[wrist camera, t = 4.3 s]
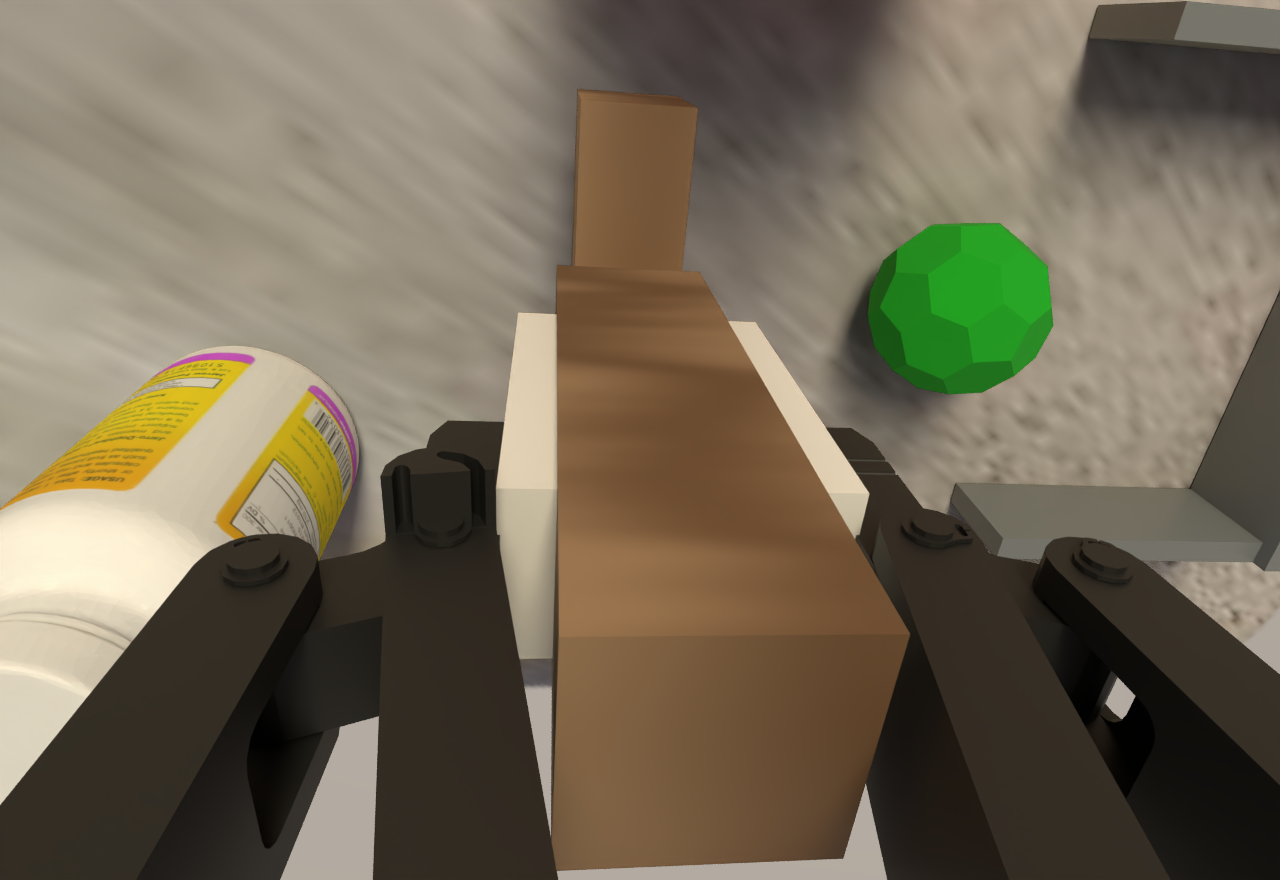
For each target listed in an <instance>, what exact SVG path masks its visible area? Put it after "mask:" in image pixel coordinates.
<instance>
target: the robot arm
mask: <svg viewBox="0 0 1280 880" xmlns="http://www.w3.org/2000/svg"><path fill="white" fill-rule="evenodd" d="M728 322H729V324H730V325H731V327H732V329H733V331H734V332H735V334H736V336H737V337H738V339H739V341H740V343H741V344H742V346H743V348H744V349H745V351H746V353H747V355H748V356H749V358H750V360H751V361H752V363H753V365H754V367H755V368H756V370H757V372H758V373H759V375H760V377H761V379H762V380H763V382H764V384H765V386H766V387H767V389H768V391H769V392H770V394H771V396H772V398H773V399H774V401H775V403H776V404H777V406H778V408H779V410H780V411H781V413H782V415H783V416H784V418H785V420H786V422H787V423H788V425H789V427H790V428H791V430H792V432H793V434H794V435H795V437H796V439H797V440H798V442H799V444H800V446H801V447H802V449H803V451H804V453H805V454H806V456H807V458H808V459H809V461H810V463H811V465H812V466H813V468H814V470H815V471H816V473H817V475H818V477H819V478H820V480H821V482H822V483H823V485H824V487H825V489H826V490H827V492H828V494H829V495H830V497H831V499H832V501H833V502H834V504H835V506H836V507H837V509H838V511H839V513H840V514H841V516H842V518H843V520H844V521H845V523H846V525H847V526H848V528H849V530H850V532H851V533H852V535H853V537H854V538H855V540H856V542H857V544H858V545H859V547H860V549H861V550H862V552H863V554H864V556H865V557H866V559H867V561H868V562H869V564H870V566H871V568H872V569H873V571H874V573H875V574H876V576H877V578H878V580H879V581H880V583H881V585H882V587H883V588H884V590H885V592H886V593H887V595H888V597H889V599H890V600H891V602H892V604H893V605H894V607H895V609H896V611H897V612H898V614H899V616H900V617H901V619H902V621H903V623H904V624H905V626H906V628H907V629H908V631H909V633H910V637H909V640H908V643H907V647H906V650H905V653H904V657H903V660H902V663H901V667H900V670H899V673H898V677H897V680H896V683H895V687H894V690H893V693H892V697H891V700H890V704H889V707H888V710H887V714H886V717H885V720H884V724H883V727H882V730H881V734H880V737H879V740H878V744H877V747H876V750H875V754H874V757H873V760H872V764H871V767H870V770H869V774H868V777H867V780H866V786H867V790H868V794H869V799H870V804H871V808H872V813H873V817H874V822H875V826H876V830H877V835H878V839H879V844H880V848H881V853H882V857H883V862H884V866H885V871H886V875H887V880H1280V674H1279V673H1277V672H1276V671H1275V670H1273V669H1272V668H1271V667H1270V666H1269V665H1268V664H1266V663H1265V662H1264V661H1263V660H1262V659H1260V658H1259V657H1258V656H1257V655H1255V654H1254V653H1253V652H1252V651H1251V650H1249V649H1248V648H1247V647H1246V646H1245V645H1243V644H1242V643H1241V642H1240V641H1239V640H1237V639H1236V638H1235V637H1234V636H1233V635H1231V634H1230V633H1229V632H1228V631H1226V630H1225V629H1224V628H1223V627H1222V626H1220V625H1219V624H1218V623H1217V622H1216V621H1214V620H1213V619H1212V618H1211V617H1210V616H1208V615H1207V614H1206V613H1205V612H1203V611H1202V610H1201V609H1200V608H1199V607H1197V606H1196V605H1195V604H1194V603H1193V602H1191V601H1190V600H1189V599H1188V598H1187V597H1185V596H1184V595H1183V594H1182V593H1180V592H1179V591H1178V590H1177V589H1176V588H1174V587H1173V586H1172V585H1171V584H1170V583H1168V582H1167V581H1166V580H1165V579H1164V578H1162V577H1161V576H1160V575H1159V574H1158V573H1156V572H1155V571H1154V570H1153V569H1151V568H1150V567H1149V566H1148V565H1147V564H1145V563H1144V562H1142V561H1141V560H1139V559H1138V558H1136V557H1135V556H1133V555H1132V554H1130V553H1129V552H1126V551H1124V550H1122V549H1120V548H1117V547H1115V546H1114V545H1113V544H1111V543H1108V542H1105V541H1102V540H1100V541H1097V539H1093V538H1087V537H1085V538H1082V537H1063V538H1058V539H1053V540H1052V541H1051V542H1050V543H1049V544H1048V545H1047V546H1046V548H1045V550H1044V553H1043V556H1042V558H1041V561H1040V563H1039V564H1036V563H1031V562H1026V561H1021V560H1016V559H1011V558H1006V557H1001V556H996V555H992V554H989V553H988V552H987V550H986V548H985V546H984V545H983V543H982V541H981V539H980V538H979V537H978V536H977V534H976V533H975V532H974V531H973V530H972V529H971V528H970V527H969V526H967V525H965V524H964V523H962V522H961V521H959V520H957V519H956V518H954V517H951V516H948V515H946V514H943V513H941V512H938V511H934V510H929V509H923V508H922V506H921V505H920V504H919V502H918V501H917V500H916V499H915V497H914V496H913V495H912V493H911V492H910V491H909V489H908V488H907V487H906V485H905V484H904V483H903V481H902V480H901V479H900V477H899V476H898V475H895V471H894V469H893V468H892V467H891V465H890V464H889V463H888V462H885V458H884V456H883V455H882V454H881V452H880V451H879V450H878V448H877V447H876V446H875V444H874V443H873V442H872V441H870V440H868V439H867V438H865V437H864V436H862V435H861V434H859V433H858V432H856V431H855V430H853V429H851V428H825V426H824V425H823V423H822V422H821V420H820V419H819V417H818V416H817V414H816V413H815V411H814V410H813V408H812V407H811V405H810V404H809V402H808V401H807V399H806V398H805V396H804V395H803V393H802V392H801V390H800V389H799V387H798V386H797V384H796V383H795V381H794V380H793V378H792V377H791V375H790V374H789V372H788V371H787V369H786V368H785V366H784V365H783V363H782V362H781V360H780V359H779V357H778V356H777V354H776V353H775V351H774V350H773V348H772V347H771V345H770V344H769V342H768V341H767V339H766V338H765V336H764V335H763V333H762V332H761V330H760V329H759V327H758V326H757V324H756V323H755V322H735V321H728ZM380 477H381V488H382V500H383V511H384V522H385V533H386V541H385V542H383V543H381V544H380V545H378V546H375V547H373V548H371V549H368V550H366V551H363V552H359V553H355V554H351V555H348V556H343V557H337V558H332V559H327V560H321V561H318V556H317V554H316V552H315V550H314V548H313V546H312V545H311V544H310V543H308V542H306V541H304V540H302V539H301V538H299V537H296V536H290V535H284V534H279V533H275V534H256V535H250V536H247V537H241V538H238V539H235V540H231V541H229V542H227V543H225V544H223V545H221V546H218V547H216V548H214V549H212V550H210V551H209V552H208V553H206V554H205V555H204V556H203V557H202V558H201V559H200V560H198V561H197V562H196V563H195V564H194V565H193V566H192V568H191V569H190V570H189V571H188V573H187V574H186V575H185V576H184V578H183V579H182V580H181V581H180V582H179V584H178V585H177V586H176V587H175V589H174V590H173V591H172V592H171V594H170V595H169V596H168V597H167V599H166V600H165V601H164V602H163V604H162V605H161V606H160V607H159V609H158V610H157V611H156V612H155V613H154V615H153V616H152V617H151V618H150V620H149V621H148V622H147V623H146V625H145V626H144V627H143V628H142V630H141V631H140V632H139V633H138V635H137V636H136V637H135V638H134V640H133V641H132V642H131V643H130V645H129V646H128V647H127V648H126V649H125V651H124V652H123V653H122V654H121V656H120V657H119V658H118V659H117V661H116V662H115V663H114V664H113V666H112V667H111V668H110V669H109V671H108V672H107V673H106V674H105V676H104V677H103V678H102V679H101V681H100V682H99V683H98V684H97V685H96V687H95V688H94V689H93V690H92V692H91V693H90V694H89V695H88V697H87V698H86V699H85V700H84V702H83V703H82V704H81V705H80V707H79V708H78V709H77V710H76V712H75V713H74V714H73V715H72V716H71V718H70V719H69V720H68V721H67V723H66V724H65V725H64V726H63V728H62V729H61V730H60V731H59V733H58V734H57V735H56V736H55V738H54V739H53V740H52V741H51V743H50V744H49V745H48V746H47V748H46V749H45V750H44V751H43V752H42V754H41V755H40V756H39V757H38V759H37V760H36V761H35V762H34V764H33V765H32V766H31V767H30V769H29V770H28V771H27V772H26V774H25V775H24V776H23V777H22V779H21V780H20V781H19V782H18V783H17V785H16V786H15V787H14V788H13V790H12V791H11V792H10V793H9V795H8V796H7V797H6V798H5V800H4V801H3V802H2V803H1V805H0V880H280V878H281V876H282V874H283V871H284V869H285V866H286V864H287V861H288V859H289V856H290V854H291V851H292V849H293V847H294V844H295V841H296V839H297V837H298V834H299V832H300V829H301V827H302V824H303V822H304V820H305V817H306V814H307V812H308V810H309V807H310V805H311V802H312V800H313V797H314V795H315V792H316V789H317V787H318V785H319V783H320V780H321V778H322V775H323V773H324V770H325V768H326V765H327V763H328V760H329V758H330V755H331V753H332V750H333V748H334V746H335V743H336V741H337V738H338V735H339V728H340V727H341V726H345V725H348V724H352V723H355V722H359V721H362V720H367V719H370V718H374V717H377V716H379V730H378V758H377V785H376V811H375V837H374V864H373V880H558V876H557V870H556V864H555V859H554V853H553V847H552V842H551V836H550V830H549V825H548V820H547V813H546V808H545V802H544V797H543V791H542V785H541V779H540V774H539V768H538V762H537V757H536V751H535V745H534V740H533V734H532V728H531V723H530V717H529V711H528V706H527V700H526V694H525V688H524V683H523V677H522V671H521V666H520V660H519V659H552V656H553V622H554V588H555V554H556V521H557V314H536V313H518V320H517V328H516V336H515V343H514V351H513V359H512V367H511V375H510V383H509V390H508V398H507V406H506V414H505V422H482V421H447V422H446V423H444V424H443V425H442V426H441V427H439V428H438V429H437V430H436V431H435V432H433V433H432V434H431V435H430V438H429V441H428V444H427V448H424V449H417V450H414V451H411V452H408V453H406V454H403V455H400V456H398V457H396V458H395V459H394V460H392V461H391V462H390V463H388V464H387V465H385V468H384V470H383V472H382V474H381V476H380ZM1117 677H1118V678H1119V679H1120V680H1121V681H1122V682H1123V683H1124V684H1125V685H1126V686H1127V687H1128V688H1129V689H1130V690H1131V691H1132V692H1133V694H1134V695H1135V699H1134V701H1133V703H1132V705H1131V707H1130V709H1129V711H1128V713H1127V715H1126V716H1125V717H1124V718H1123V719H1120V718H1119V717H1118V716H1117V715H1116V714H1114V713H1113V712H1112V711H1111V710H1110V709H1109V707H1108V706H1107V705H1106V704H1105V703H1106V700H1107V699H1108V696H1109V694H1110V692H1111V690H1112V688H1113V686H1114V684H1115V682H1116V679H1117Z"/></svg>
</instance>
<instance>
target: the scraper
mask: <svg viewBox="0 0 1280 880" xmlns="http://www.w3.org/2000/svg"><path fill="white" fill-rule="evenodd" d="M697 115H698V108H697V107H695V106H694V105H692V104H690V103H688V102H687V101H685V100H683V99H682V98H680V97H678V96H665V95H651V94H637V93H624V92H610V91H597V90H583V89H577V116H576V145H575V175H574V204H573V234H572V263H571V266H563V265H557V280H556V314H557V521H556V554H555V588H554V622H553V656H552V767H551V770H552V773H551V781H552V782H551V842H552V847H553V853H554V859H555V864H556V870H557V871H560V870H561V871H562V870H586V869H607V868H608V869H609V868H633V867H656V866H678V865H703V864H725V863H750V862H773V861H795V860H818V859H843V857H844V854H845V851H846V847H847V844H848V841H849V837H850V834H851V830H852V827H853V824H854V821H855V817H856V813H857V810H858V807H859V804H860V801H861V797H862V794H863V791H864V787H865V784H866V780H867V777H868V774H869V770H870V767H871V764H872V760H873V757H874V754H875V750H876V747H877V744H878V740H879V737H880V734H881V730H882V727H883V724H884V720H885V717H886V714H887V710H888V707H889V704H890V700H891V697H892V693H893V690H894V687H895V683H896V680H897V677H898V673H899V670H900V667H901V663H902V660H903V657H904V653H905V650H906V647H907V643H908V640H909V637H910V633H909V631H908V629H907V628H906V626H905V624H904V623H903V621H902V619H901V617H900V616H899V614H898V612H897V611H896V609H895V607H894V605H893V604H892V602H891V600H890V599H889V597H888V595H887V593H886V592H885V590H884V588H883V587H882V585H881V583H880V581H879V580H878V578H877V576H876V574H875V573H874V571H873V569H872V568H871V566H870V564H869V562H868V561H867V559H866V557H865V556H864V554H863V552H862V550H861V549H860V547H859V545H858V544H857V542H856V540H855V538H854V537H853V535H852V533H851V532H850V530H849V528H848V526H847V525H846V523H845V521H844V520H843V518H842V516H841V514H840V513H839V511H838V509H837V507H836V506H835V504H834V502H833V501H832V499H831V497H830V495H829V494H828V492H827V490H826V489H825V487H824V485H823V483H822V482H821V480H820V478H819V477H818V475H817V473H816V471H815V470H814V468H813V466H812V465H811V463H810V461H809V459H808V458H807V456H806V454H805V453H804V451H803V449H802V447H801V446H800V444H799V442H798V440H797V439H796V437H795V435H794V434H793V432H792V430H791V428H790V427H789V425H788V423H787V422H786V420H785V418H784V416H783V415H782V413H781V411H780V410H779V408H778V406H777V404H776V403H775V401H774V399H773V398H772V396H771V394H770V392H769V391H768V389H767V387H766V386H765V384H764V382H763V380H762V379H761V377H760V375H759V373H758V372H757V370H756V368H755V367H754V365H753V363H752V361H751V360H750V358H749V356H748V355H747V353H746V351H745V349H744V348H743V346H742V344H741V343H740V341H739V339H738V337H737V336H736V334H735V332H734V331H733V329H732V327H731V325H730V324H729V322H728V320H727V319H726V317H725V315H724V313H723V312H722V310H721V308H720V306H719V305H718V303H717V301H716V300H715V298H714V296H713V294H712V293H711V291H710V289H709V288H708V286H707V284H706V282H705V281H704V279H703V277H702V276H701V274H700V272H690V271H682V265H683V255H684V245H685V235H686V225H687V215H688V205H689V195H690V185H691V175H692V165H693V155H694V145H695V135H696V125H697Z"/></svg>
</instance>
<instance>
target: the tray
mask: <svg viewBox="0 0 1280 880" xmlns="http://www.w3.org/2000/svg"><path fill="white" fill-rule="evenodd" d="M1089 38H1096V39H1107V40H1119V41H1130V42H1142V43H1153V44H1164V45H1176V46H1187V47H1199V48H1210V49H1221V50H1233V51H1244V52H1256V53H1267V54H1279V55H1280V10H1275V9H1264V8H1253V7H1243V6H1232V5H1222V4H1211V3H1200V2H1190V1H1182V2H1159V3H1137V4H1114V5H1099V6H1098V9H1097V12H1096V16H1095V19H1094V22H1093V26H1092V29H1091V32H1090V36H1089ZM951 503H952V504H953V505H954V507H955V508H956V509H957V510H958V512H959V513H960V514H961V515H962V517H963V518H964V519H965V520H966V522H967V523H968V524H969V525H970V527H971V528H972V529H973V530H974V532H975V533H976V534H977V535H978V537H979V538H980V539H981V540H982V541H983V543H984V544H985V545H986V546H987V548H988V549H989V550H990V551H991V553H992V554H993V555H996V556H1001V557H1006V558H1011V559H1041V558H1042V556H1043V553H1044V550H1045V548H1046V546H1047V545H1048V544H1049V543H1050V542H1051V541H1052V540H1053V539H1058V538H1063V537H1082V538H1085V537H1087V538H1093V539H1097V541H1100V540H1102V541H1105V542H1108V543H1111V544H1113V545H1114V546H1115V547H1117V548H1120V549H1122V550H1124V551H1126V552H1129V553H1130V554H1132V555H1133V556H1135V557H1136V558H1138V559H1139V560H1141V561H1202V562H1253V563H1254V564H1256V565H1257V566H1258V567H1260V568H1261V569H1262V570H1263V571H1280V294H1279V296H1278V298H1277V300H1276V302H1275V305H1274V307H1273V309H1272V311H1271V313H1270V316H1269V318H1268V320H1267V322H1266V324H1265V327H1264V329H1263V331H1262V333H1261V335H1260V337H1259V340H1258V342H1257V344H1256V346H1255V348H1254V351H1253V353H1252V355H1251V357H1250V359H1249V362H1248V364H1247V366H1246V368H1245V370H1244V372H1243V375H1242V377H1241V379H1240V381H1239V383H1238V386H1237V388H1236V390H1235V392H1234V394H1233V397H1232V399H1231V401H1230V403H1229V405H1228V407H1227V410H1226V412H1225V414H1224V416H1223V418H1222V421H1221V423H1220V425H1219V427H1218V429H1217V432H1216V434H1215V436H1214V438H1213V440H1212V442H1211V445H1210V447H1209V449H1208V451H1207V453H1206V456H1205V458H1204V460H1203V462H1202V464H1201V467H1200V469H1199V471H1198V473H1197V475H1196V478H1195V480H1194V482H1193V484H1192V486H1191V488H1190V489H1178V488H1137V487H1096V486H1055V485H1014V484H973V483H956V486H955V489H954V492H953V496H952V499H951Z"/></svg>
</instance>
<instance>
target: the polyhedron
mask: <svg viewBox="0 0 1280 880" xmlns="http://www.w3.org/2000/svg"><path fill="white" fill-rule="evenodd" d="M868 320H869V324H870V329H871V334H872V338H873V343H874V347H875V348H876V350H877V351H878V352H879V353H880V355H881V356H882V357H883V359H884V360H885V361H886V362H887V364H888V365H889V366H890V367H891V369H892V370H893V371H894V372H896V373H897V374H899V375H900V376H902V377H903V378H904V379H906V380H907V381H909V382H910V383H911V384H913V385H914V386H916V387H917V388H920V389H925V390H930V391H935V392H940V393H945V394H962V393H981V392H984V391H986V390H988V389H990V388H992V387H994V386H996V385H997V384H999V383H1001V382H1003V381H1005V380H1007V379H1009V378H1011V377H1013V376H1015V375H1016V374H1017V373H1018V372H1019V371H1021V370H1022V369H1023V368H1024V367H1025V366H1026V365H1028V364H1029V363H1030V362H1031V361H1032V360H1033V359H1035V358H1036V356H1037V354H1038V352H1039V350H1040V349H1041V347H1042V345H1043V343H1044V341H1045V340H1046V338H1047V336H1048V334H1049V332H1050V331H1051V329H1052V327H1053V318H1052V307H1051V297H1050V286H1049V276H1048V266H1047V265H1046V264H1045V263H1044V262H1043V261H1042V260H1041V259H1040V258H1039V257H1038V256H1037V255H1036V254H1034V253H1033V252H1032V251H1031V250H1030V249H1029V248H1028V247H1027V246H1026V245H1025V244H1024V243H1023V242H1022V241H1020V240H1019V239H1018V238H1017V237H1016V236H1014V235H1013V234H1012V233H1011V232H1010V231H1009V230H1007V229H1006V228H1005V227H1004V226H1003V225H1001V224H1000V223H961V224H935V225H931V226H929V227H928V228H926V229H925V230H923V231H922V232H921V233H919V234H918V235H916V236H915V237H914V238H912V239H911V240H909V241H908V242H907V243H905V244H904V245H902V246H901V247H900V248H898V249H897V250H896V251H894V252H893V253H892V254H891V255H890V256H888V257H887V258H886V259H885V260H884V261H883V263H882V265H881V268H880V270H879V272H878V274H877V277H876V279H875V281H874V284H873V286H872V288H871V290H870V296H869V307H868Z"/></svg>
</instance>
